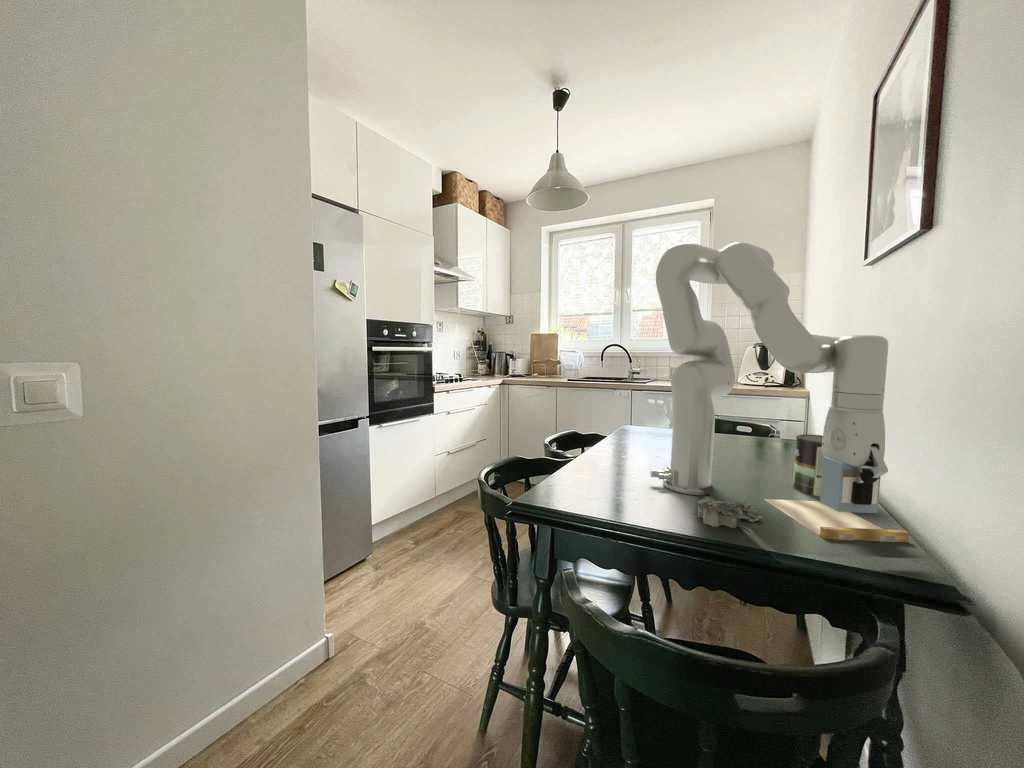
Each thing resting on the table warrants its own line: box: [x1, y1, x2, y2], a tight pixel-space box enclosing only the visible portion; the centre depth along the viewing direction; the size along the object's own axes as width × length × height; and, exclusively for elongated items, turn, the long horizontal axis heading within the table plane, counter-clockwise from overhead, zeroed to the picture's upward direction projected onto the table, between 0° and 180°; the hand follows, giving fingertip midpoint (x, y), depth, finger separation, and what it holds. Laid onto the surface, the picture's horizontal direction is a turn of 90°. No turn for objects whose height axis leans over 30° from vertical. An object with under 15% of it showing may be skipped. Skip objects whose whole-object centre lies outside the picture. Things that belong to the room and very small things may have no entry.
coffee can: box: [792, 433, 825, 497], centre depth 103 cm, size 10×10×14 cm
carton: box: [819, 457, 881, 514], centre depth 81 cm, size 5×7×9 cm
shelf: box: [763, 498, 910, 543], centre depth 86 cm, size 14×20×3 cm
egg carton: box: [696, 498, 763, 530], centre depth 87 cm, size 11×8×4 cm
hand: (849, 497), depth 81 cm, fingers closed on carton, 5 cm apart
